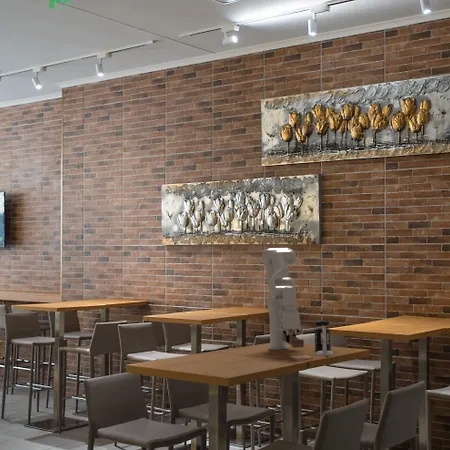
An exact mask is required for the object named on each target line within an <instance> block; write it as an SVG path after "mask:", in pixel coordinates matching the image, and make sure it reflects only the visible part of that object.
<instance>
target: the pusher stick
mask: <svg viewBox="0 0 450 450" xmlns="http://www.w3.org/2000/svg"><path fill="white" fill-rule="evenodd" d="M288 334H289V343H288V342H287V341H286V335H285V334H284V333H282V340H283V341H285V342H286V344H289V345H290V346H292V348H293V349H297V348H305V344H304V343H305V342H304V341H305V340H304V339H303V338H302V339H300V338H298V337H297V336H296V337H294V336H292V335H293V334H291V333H290V332H288Z"/></svg>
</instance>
